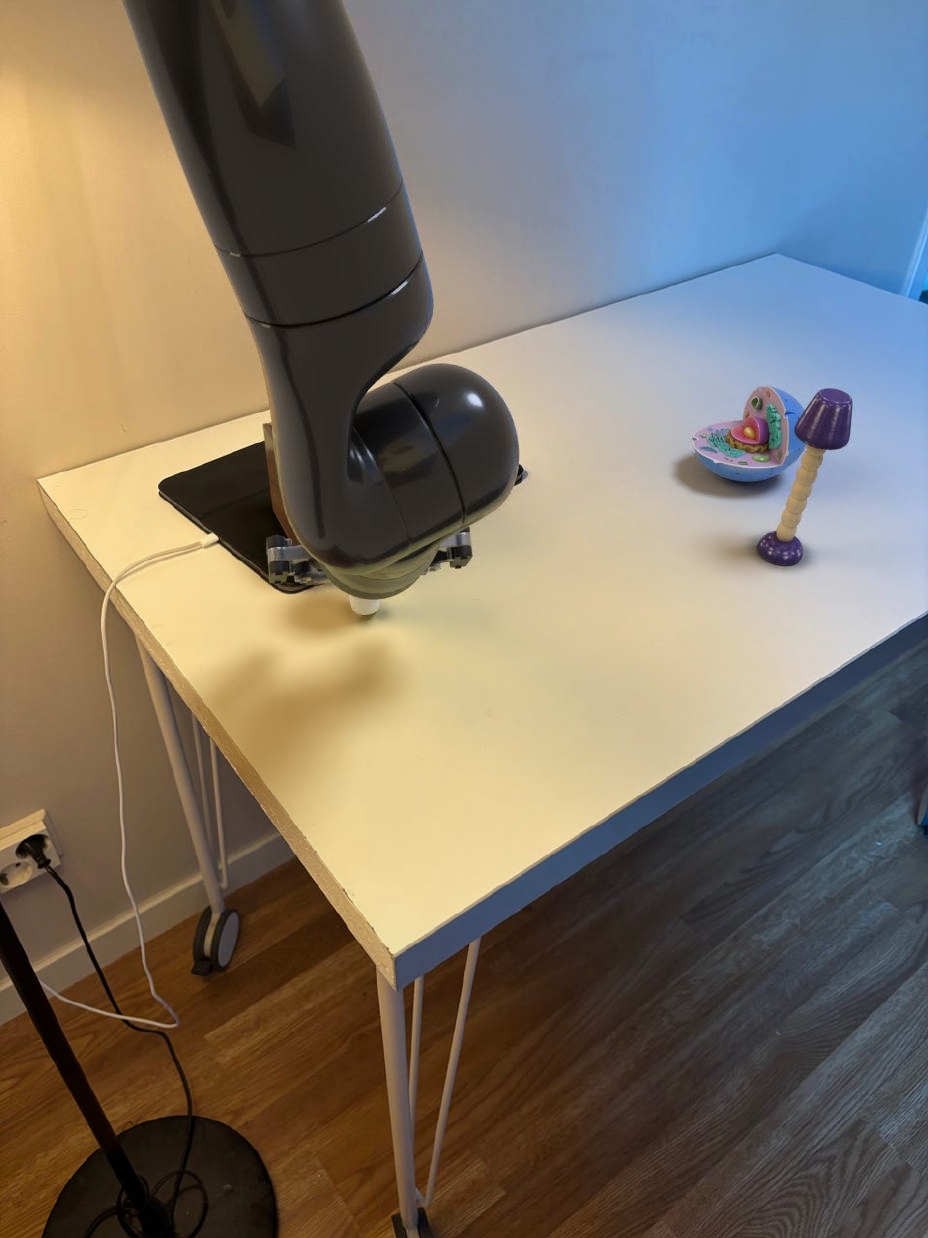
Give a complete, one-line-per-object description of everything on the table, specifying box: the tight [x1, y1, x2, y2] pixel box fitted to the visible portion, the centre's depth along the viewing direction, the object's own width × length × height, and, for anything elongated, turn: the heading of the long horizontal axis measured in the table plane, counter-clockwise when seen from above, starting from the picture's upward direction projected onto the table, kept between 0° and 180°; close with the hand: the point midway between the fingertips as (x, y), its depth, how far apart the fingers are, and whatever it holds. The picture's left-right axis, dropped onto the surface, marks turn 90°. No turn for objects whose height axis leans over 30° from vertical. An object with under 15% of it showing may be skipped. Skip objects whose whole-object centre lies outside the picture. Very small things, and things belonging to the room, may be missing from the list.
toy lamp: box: [756, 387, 853, 566], centre depth 85 cm, size 5×5×17 cm
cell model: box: [691, 385, 806, 483], centre depth 98 cm, size 10×12×10 cm
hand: (364, 566), depth 74 cm, fingers open, 8 cm apart
